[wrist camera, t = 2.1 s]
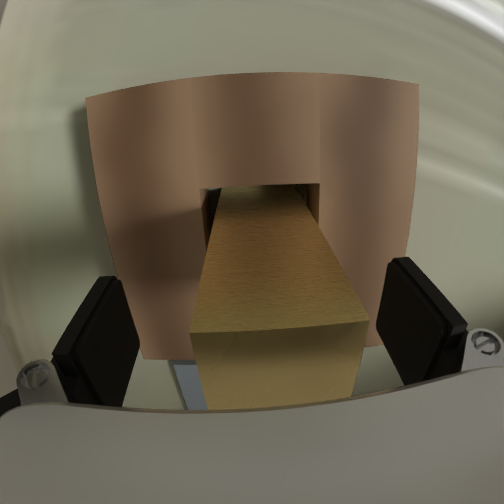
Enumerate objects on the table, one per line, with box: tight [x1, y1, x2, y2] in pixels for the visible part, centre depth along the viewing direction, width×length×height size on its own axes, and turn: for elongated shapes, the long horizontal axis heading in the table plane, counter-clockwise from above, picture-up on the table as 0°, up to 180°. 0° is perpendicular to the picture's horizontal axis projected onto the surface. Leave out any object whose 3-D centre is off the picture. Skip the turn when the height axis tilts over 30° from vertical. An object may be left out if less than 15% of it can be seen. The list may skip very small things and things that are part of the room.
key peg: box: [189, 184, 370, 410], centre depth 13 cm, size 4×4×12 cm
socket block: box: [85, 72, 419, 360], centre depth 17 cm, size 16×16×3 cm
